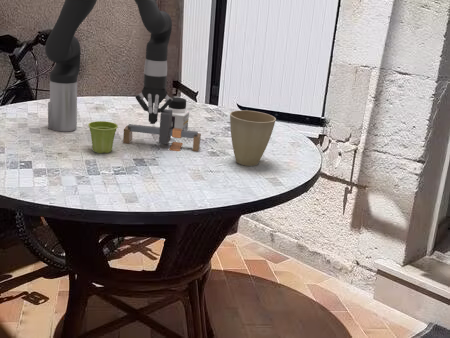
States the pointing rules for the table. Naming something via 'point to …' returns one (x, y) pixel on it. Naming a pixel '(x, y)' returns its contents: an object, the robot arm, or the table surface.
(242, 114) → the plant pot
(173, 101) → the container
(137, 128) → the rail
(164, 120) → the collar
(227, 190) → the table surface
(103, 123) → the plant pot
